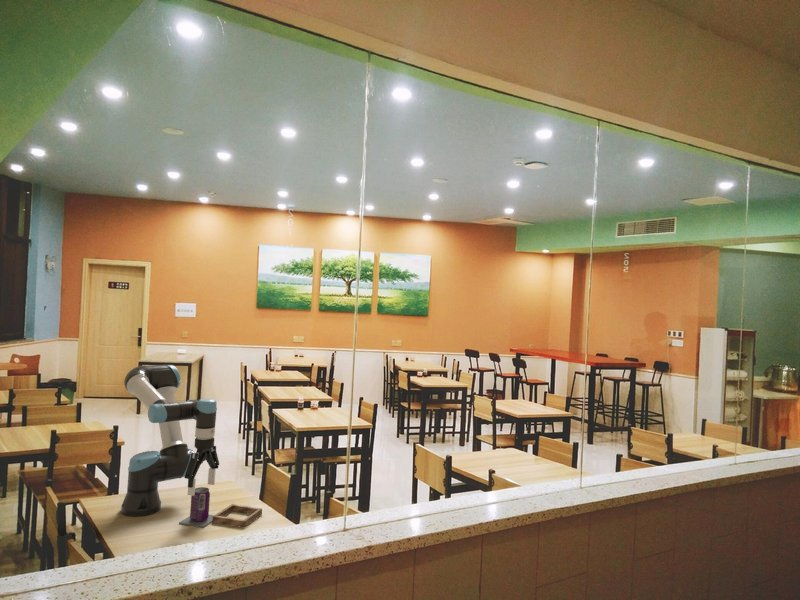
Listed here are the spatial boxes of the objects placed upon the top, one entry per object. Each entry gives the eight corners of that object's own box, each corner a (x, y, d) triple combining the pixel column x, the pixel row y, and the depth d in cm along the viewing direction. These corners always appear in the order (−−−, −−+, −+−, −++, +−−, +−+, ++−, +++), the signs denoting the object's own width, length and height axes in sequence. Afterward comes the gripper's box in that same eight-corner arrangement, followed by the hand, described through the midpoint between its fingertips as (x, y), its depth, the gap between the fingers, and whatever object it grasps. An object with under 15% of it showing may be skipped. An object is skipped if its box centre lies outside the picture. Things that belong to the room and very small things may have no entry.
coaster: (178, 523, 205) (179, 522, 205) (195, 513, 216) (195, 512, 216) (203, 527, 202) (203, 526, 202) (219, 517, 213) (219, 516, 213)
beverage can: (211, 517, 212) (213, 488, 212) (201, 523, 205) (203, 493, 205) (196, 514, 213) (198, 485, 213) (186, 521, 206) (188, 491, 206)
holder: (212, 522, 208) (212, 516, 208) (231, 509, 222) (232, 504, 222) (244, 527, 205) (244, 521, 205) (261, 514, 219) (262, 508, 219)
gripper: (194, 445, 197) (190, 501, 196) (229, 432, 221) (226, 481, 221) (177, 443, 199) (173, 498, 198) (214, 430, 223) (211, 479, 222)
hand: (201, 489), depth 209 cm, fingers open, 13 cm apart
